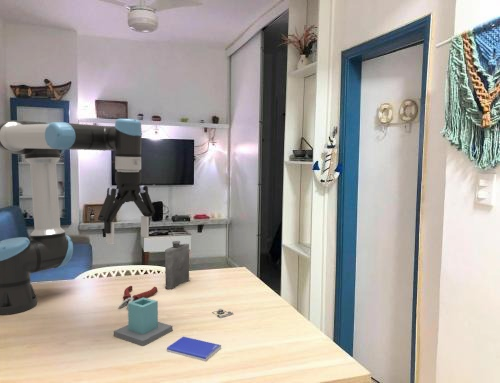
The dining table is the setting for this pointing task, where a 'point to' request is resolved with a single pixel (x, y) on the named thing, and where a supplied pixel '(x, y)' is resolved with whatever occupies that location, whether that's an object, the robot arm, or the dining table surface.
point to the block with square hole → (142, 315)
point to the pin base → (143, 338)
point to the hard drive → (194, 348)
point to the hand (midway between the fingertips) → (128, 240)
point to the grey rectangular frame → (223, 312)
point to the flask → (176, 265)
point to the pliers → (136, 296)
